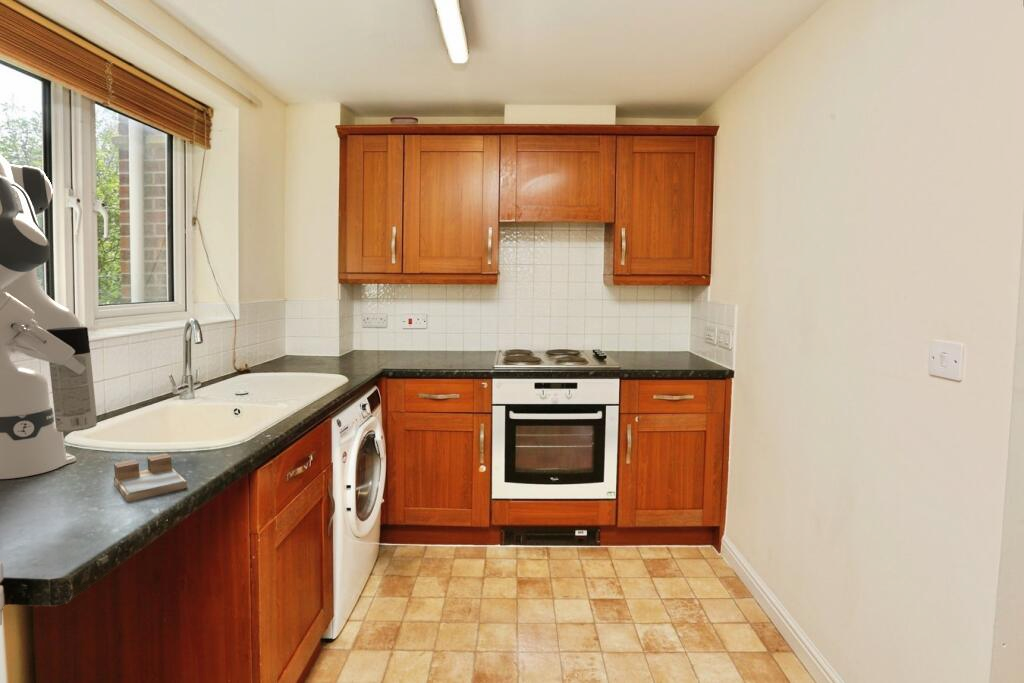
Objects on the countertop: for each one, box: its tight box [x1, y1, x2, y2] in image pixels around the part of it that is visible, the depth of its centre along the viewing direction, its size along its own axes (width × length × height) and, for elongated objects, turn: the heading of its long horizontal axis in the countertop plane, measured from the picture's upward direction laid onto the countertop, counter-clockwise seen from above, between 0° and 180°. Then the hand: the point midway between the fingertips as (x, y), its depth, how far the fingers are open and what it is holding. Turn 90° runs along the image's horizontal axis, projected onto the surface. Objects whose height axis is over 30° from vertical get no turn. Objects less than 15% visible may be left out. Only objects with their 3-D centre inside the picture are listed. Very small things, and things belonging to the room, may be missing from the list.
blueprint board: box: [113, 452, 188, 502], centre depth 129 cm, size 15×11×4 cm
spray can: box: [46, 326, 98, 433], centre depth 116 cm, size 7×7×20 cm
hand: (75, 368), depth 117 cm, fingers closed on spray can, 7 cm apart
